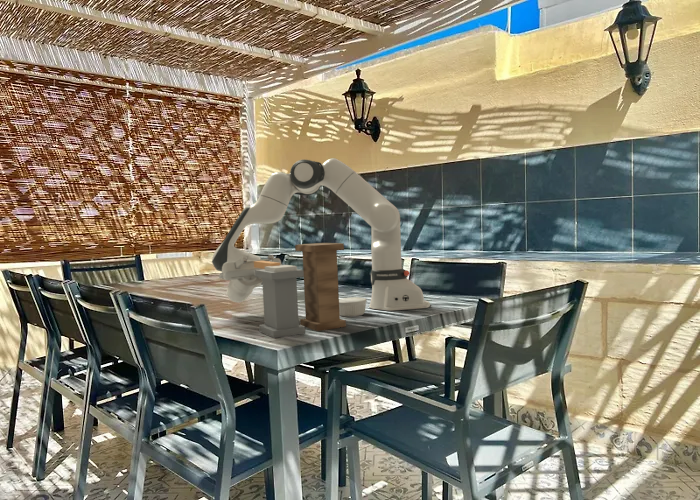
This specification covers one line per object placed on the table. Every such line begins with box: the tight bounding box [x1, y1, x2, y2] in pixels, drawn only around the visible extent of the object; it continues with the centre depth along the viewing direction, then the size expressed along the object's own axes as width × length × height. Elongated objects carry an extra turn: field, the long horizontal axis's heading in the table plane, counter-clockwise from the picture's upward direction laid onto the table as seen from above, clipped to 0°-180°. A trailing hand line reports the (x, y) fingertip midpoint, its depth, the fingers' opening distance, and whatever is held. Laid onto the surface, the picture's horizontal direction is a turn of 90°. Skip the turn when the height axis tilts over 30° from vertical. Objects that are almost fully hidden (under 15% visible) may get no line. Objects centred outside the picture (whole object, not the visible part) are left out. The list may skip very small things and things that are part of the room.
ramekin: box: [339, 296, 368, 318], centre depth 191 cm, size 11×11×5 cm
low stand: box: [255, 268, 306, 339], centre depth 164 cm, size 14×10×19 cm
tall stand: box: [294, 242, 347, 332], centre depth 171 cm, size 14×10×26 cm
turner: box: [254, 261, 298, 272], centre depth 169 cm, size 23×7×2 cm, turn 30°
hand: (258, 257), depth 178 cm, fingers open, 8 cm apart
